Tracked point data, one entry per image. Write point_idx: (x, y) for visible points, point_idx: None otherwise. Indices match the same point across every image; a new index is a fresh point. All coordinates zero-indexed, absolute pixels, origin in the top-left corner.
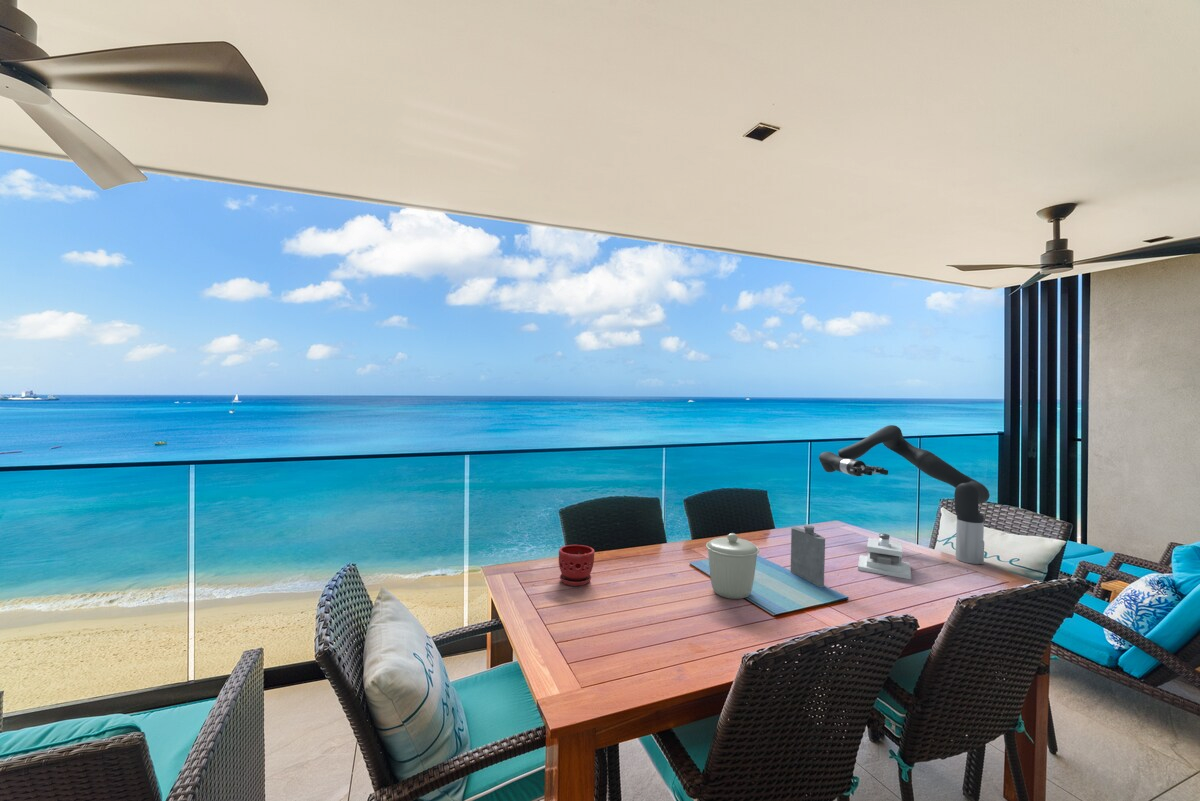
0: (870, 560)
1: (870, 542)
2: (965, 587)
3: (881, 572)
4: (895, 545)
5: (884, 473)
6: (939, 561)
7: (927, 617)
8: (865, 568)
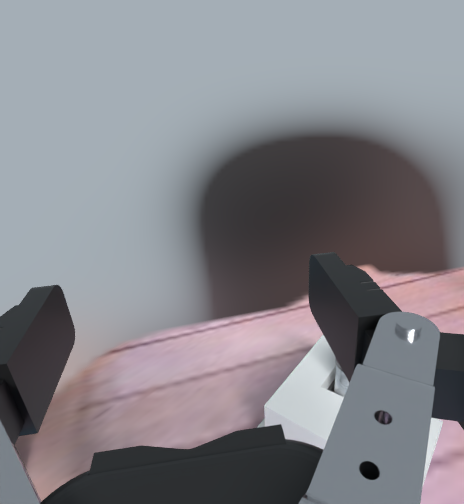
0: None
1: None
2: (216, 337)
3: None
4: (312, 376)
5: (60, 351)
6: None
7: (369, 270)
8: None
